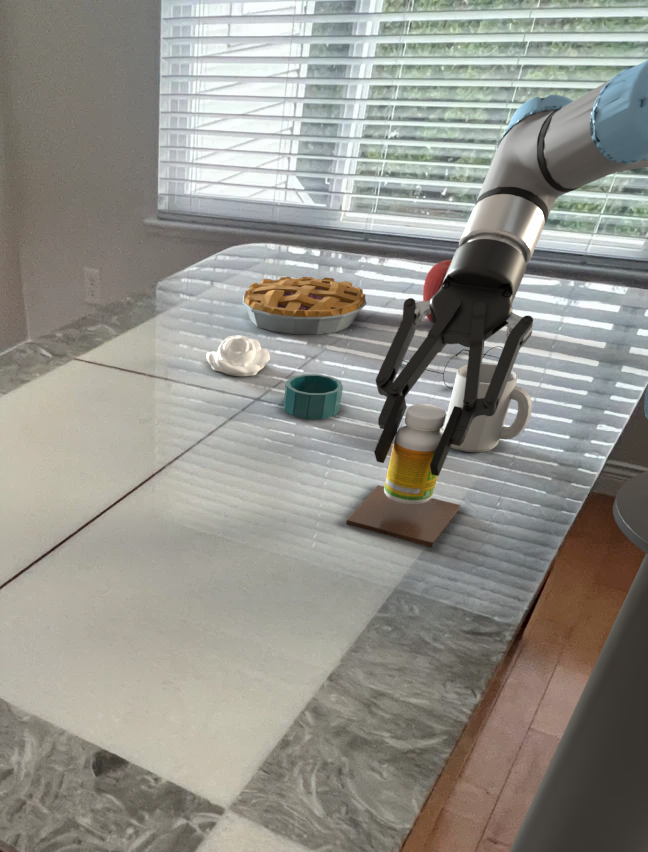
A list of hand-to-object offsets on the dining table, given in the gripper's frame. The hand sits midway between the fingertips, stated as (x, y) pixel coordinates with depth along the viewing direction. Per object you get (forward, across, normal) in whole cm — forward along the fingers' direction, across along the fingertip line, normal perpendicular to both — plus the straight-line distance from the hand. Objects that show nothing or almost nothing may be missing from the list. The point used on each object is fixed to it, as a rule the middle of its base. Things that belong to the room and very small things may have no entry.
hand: (406, 463), depth 90 cm
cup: (-14, -2, -25) cm, 29 cm away
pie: (-40, +40, -52) cm, 76 cm away
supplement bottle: (+1, 0, -6) cm, 7 cm away
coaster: (+3, 0, -8) cm, 9 cm away
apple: (-46, +17, -58) cm, 76 cm away
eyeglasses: (-30, +9, -42) cm, 52 cm away
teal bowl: (-14, +22, -25) cm, 36 cm away
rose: (-21, +39, -33) cm, 55 cm away
